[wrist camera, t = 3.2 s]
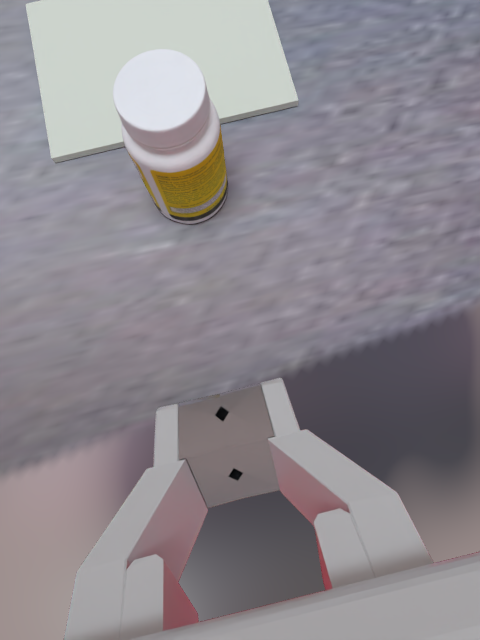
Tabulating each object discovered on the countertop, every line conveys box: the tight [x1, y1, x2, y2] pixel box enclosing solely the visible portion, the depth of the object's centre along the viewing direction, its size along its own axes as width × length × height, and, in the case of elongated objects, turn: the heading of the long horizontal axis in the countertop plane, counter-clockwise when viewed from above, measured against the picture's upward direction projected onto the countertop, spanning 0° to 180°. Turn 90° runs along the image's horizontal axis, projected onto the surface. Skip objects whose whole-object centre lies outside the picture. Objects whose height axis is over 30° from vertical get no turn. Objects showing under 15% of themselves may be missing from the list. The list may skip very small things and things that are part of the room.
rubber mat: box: [26, 0, 298, 163], centre depth 26 cm, size 16×12×1 cm
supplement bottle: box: [113, 49, 228, 224], centre depth 21 cm, size 5×5×8 cm
